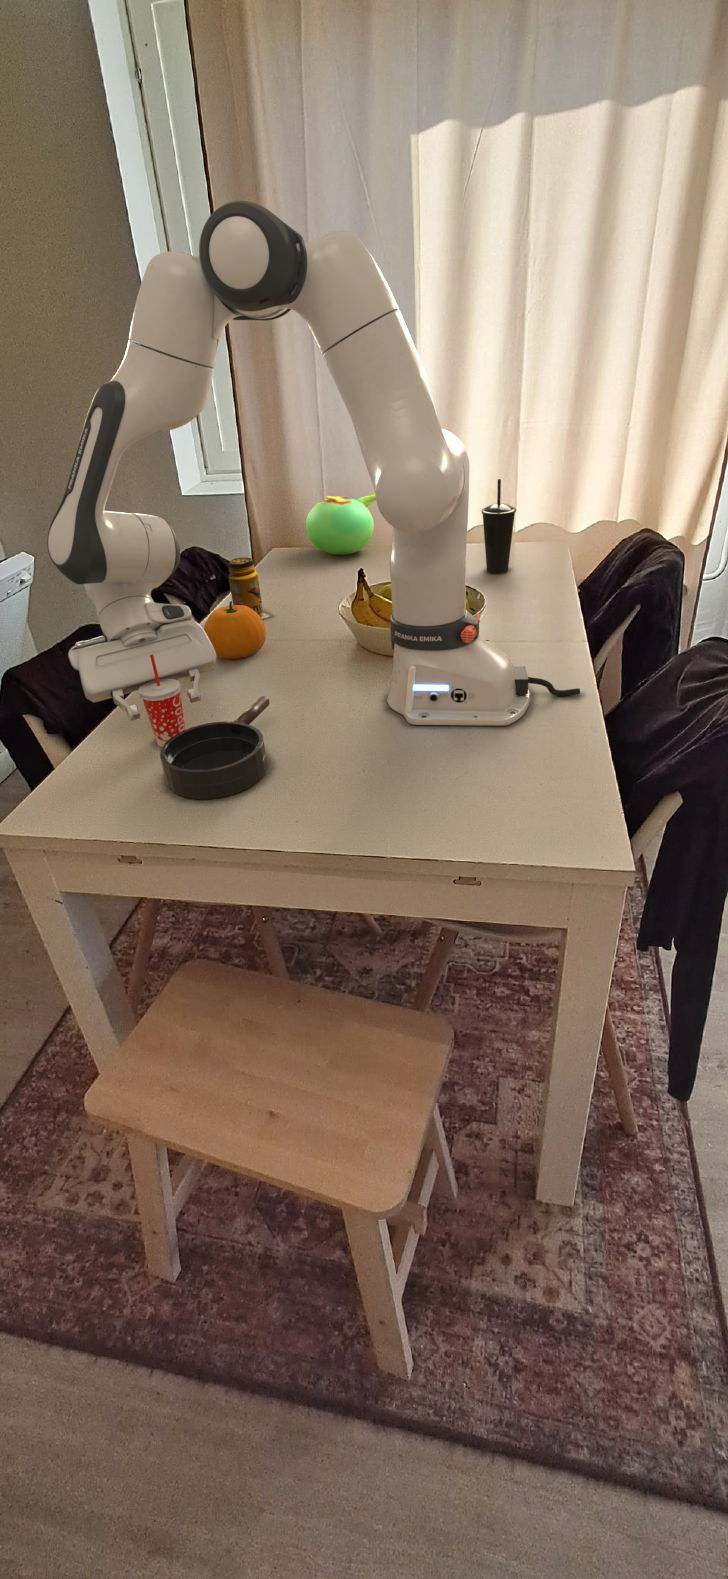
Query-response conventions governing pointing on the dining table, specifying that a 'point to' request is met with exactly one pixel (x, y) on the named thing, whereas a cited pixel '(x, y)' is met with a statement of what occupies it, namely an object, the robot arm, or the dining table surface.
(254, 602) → the condiment
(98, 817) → the dining table surface
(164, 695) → the beverage cup
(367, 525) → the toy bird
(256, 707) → the skillet handle
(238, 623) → the fruit
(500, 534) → the drinking cup
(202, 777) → the skillet
